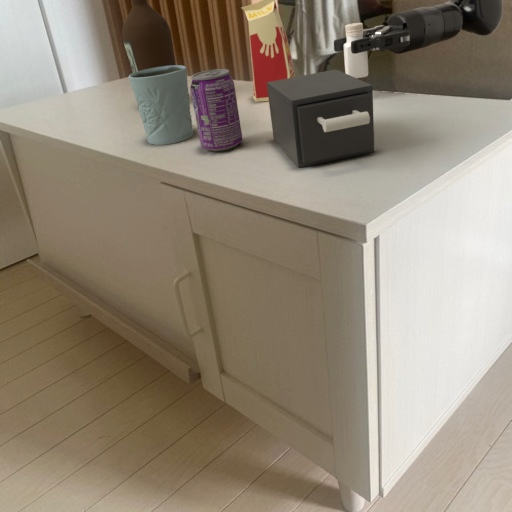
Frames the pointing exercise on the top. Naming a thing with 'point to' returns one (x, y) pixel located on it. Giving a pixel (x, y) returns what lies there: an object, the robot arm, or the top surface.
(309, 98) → the cabinet
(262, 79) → the milk carton
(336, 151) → the drawer
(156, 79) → the embossed ceramic cup
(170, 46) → the olive oil
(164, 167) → the top surface
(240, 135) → the beverage can
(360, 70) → the pepper shaker
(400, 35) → the robot arm
